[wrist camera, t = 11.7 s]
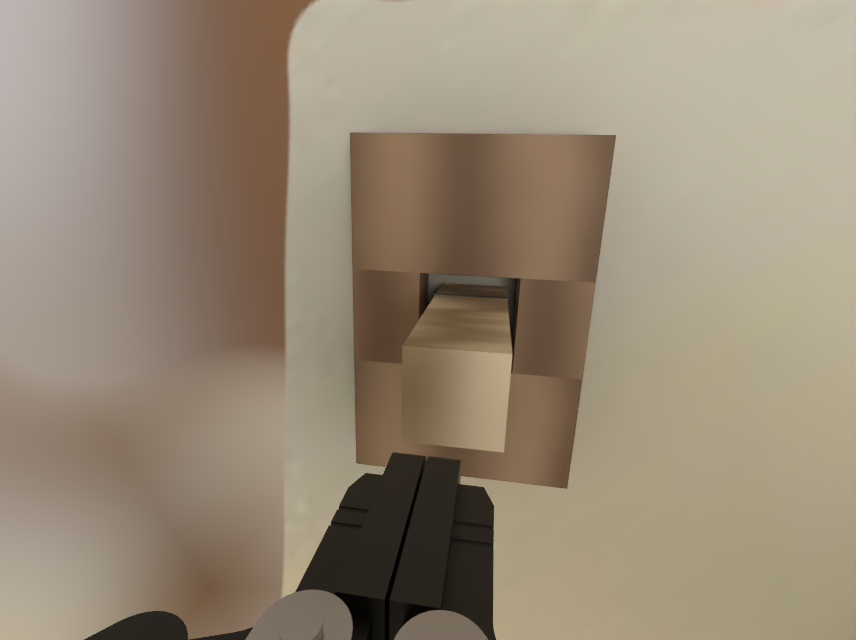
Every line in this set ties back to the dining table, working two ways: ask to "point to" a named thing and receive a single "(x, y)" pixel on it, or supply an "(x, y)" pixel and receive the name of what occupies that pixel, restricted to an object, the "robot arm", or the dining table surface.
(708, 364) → the dining table surface
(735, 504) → the dining table surface
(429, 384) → the beech peg
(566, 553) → the dining table surface
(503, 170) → the walnut board
